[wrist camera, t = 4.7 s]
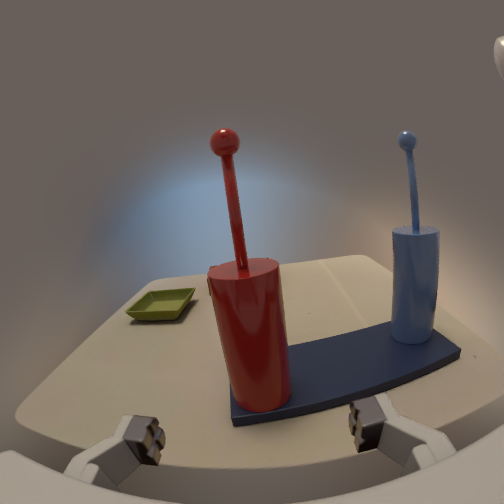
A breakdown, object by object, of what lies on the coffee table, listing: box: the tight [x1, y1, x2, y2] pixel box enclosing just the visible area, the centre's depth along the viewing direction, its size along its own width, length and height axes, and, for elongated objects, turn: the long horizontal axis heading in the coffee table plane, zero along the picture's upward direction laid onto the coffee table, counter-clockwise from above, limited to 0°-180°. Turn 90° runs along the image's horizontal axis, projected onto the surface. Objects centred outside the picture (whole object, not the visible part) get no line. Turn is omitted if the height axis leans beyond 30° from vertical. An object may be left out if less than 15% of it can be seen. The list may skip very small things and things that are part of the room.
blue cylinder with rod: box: [390, 130, 439, 344], centre depth 21 cm, size 4×4×18 cm
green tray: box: [125, 288, 195, 321], centre depth 40 cm, size 9×9×2 cm
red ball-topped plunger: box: [207, 128, 292, 412], centre depth 17 cm, size 4×4×18 cm
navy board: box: [230, 321, 461, 426], centre depth 22 cm, size 20×9×1 cm, turn 95°
